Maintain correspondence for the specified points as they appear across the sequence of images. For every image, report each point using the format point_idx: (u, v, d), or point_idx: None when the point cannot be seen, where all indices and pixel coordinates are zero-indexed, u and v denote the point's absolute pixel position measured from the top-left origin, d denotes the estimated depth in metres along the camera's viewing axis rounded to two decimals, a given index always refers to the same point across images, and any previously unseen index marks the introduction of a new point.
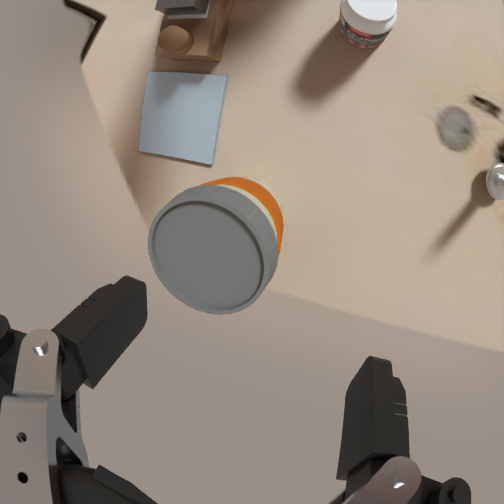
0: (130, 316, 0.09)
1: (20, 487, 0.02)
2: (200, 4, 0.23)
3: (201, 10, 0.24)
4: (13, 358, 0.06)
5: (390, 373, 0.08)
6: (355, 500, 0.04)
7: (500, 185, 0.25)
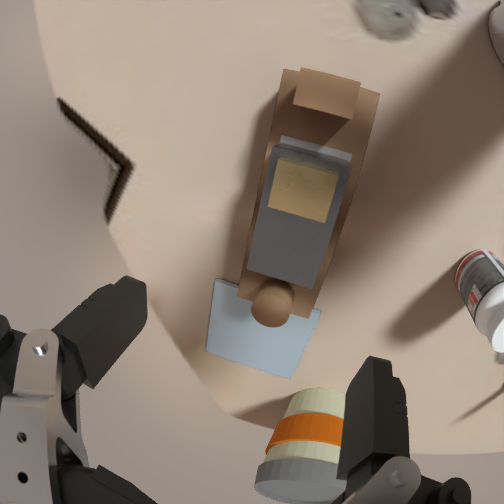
0: (130, 316, 0.09)
1: (20, 487, 0.02)
2: None
3: None
4: (13, 358, 0.06)
5: (390, 373, 0.08)
6: (355, 500, 0.04)
7: None
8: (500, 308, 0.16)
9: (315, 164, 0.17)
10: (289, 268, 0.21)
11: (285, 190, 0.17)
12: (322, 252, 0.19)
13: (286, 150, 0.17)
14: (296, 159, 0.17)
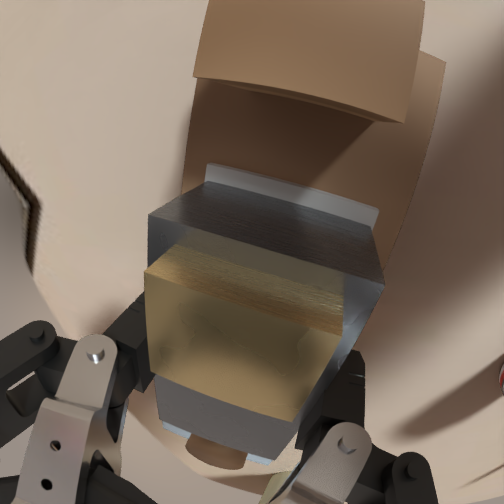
0: None
1: (20, 487, 0.02)
2: None
3: None
4: (54, 372, 0.06)
5: None
6: (305, 473, 0.05)
7: None
8: None
9: (272, 271, 0.06)
10: (230, 435, 0.09)
11: (181, 351, 0.06)
12: (292, 430, 0.08)
13: (185, 226, 0.06)
14: (215, 254, 0.06)
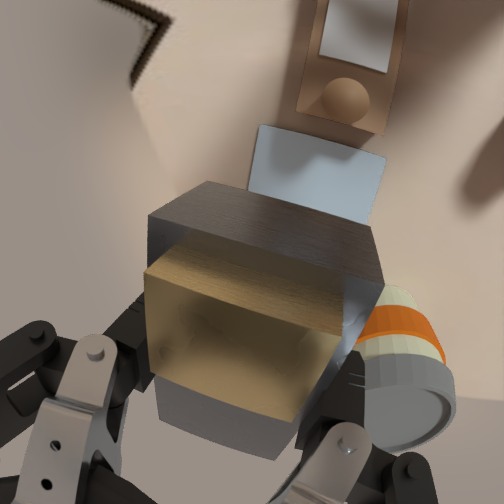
0: None
1: (20, 487, 0.02)
2: None
3: None
4: (55, 372, 0.06)
5: None
6: (305, 473, 0.05)
7: None
8: None
9: (272, 271, 0.06)
10: (230, 436, 0.09)
11: (181, 351, 0.06)
12: (291, 430, 0.08)
13: (185, 227, 0.06)
14: (215, 254, 0.06)
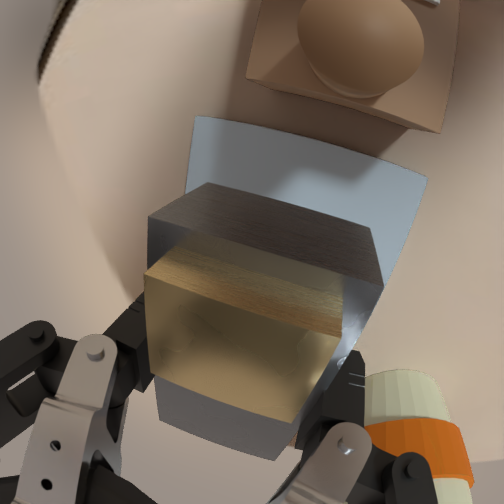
0: None
1: (20, 487, 0.02)
2: None
3: None
4: (54, 372, 0.06)
5: None
6: (305, 473, 0.05)
7: None
8: None
9: (272, 273, 0.06)
10: (230, 436, 0.09)
11: (181, 352, 0.06)
12: (291, 430, 0.08)
13: (185, 228, 0.06)
14: (214, 256, 0.06)
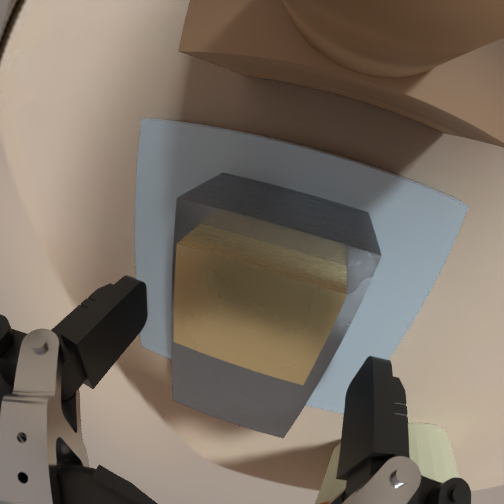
0: (130, 316, 0.09)
1: (20, 487, 0.02)
2: None
3: None
4: (13, 358, 0.06)
5: (390, 373, 0.08)
6: (355, 500, 0.04)
7: None
8: None
9: (286, 245, 0.07)
10: (241, 412, 0.10)
11: (205, 317, 0.07)
12: (301, 402, 0.09)
13: (210, 207, 0.07)
14: (236, 231, 0.07)
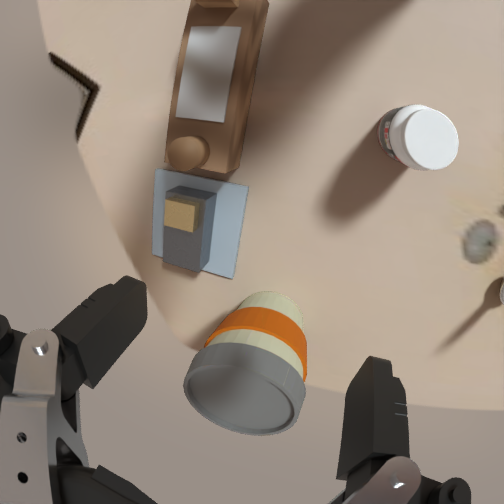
0: (130, 316, 0.09)
1: (20, 487, 0.02)
2: (204, 262, 0.36)
3: None
4: (13, 358, 0.06)
5: (390, 373, 0.08)
6: (355, 500, 0.04)
7: None
8: None
9: (187, 199, 0.31)
10: (184, 259, 0.34)
11: (170, 216, 0.31)
12: (199, 249, 0.33)
13: (172, 193, 0.31)
14: (177, 197, 0.31)
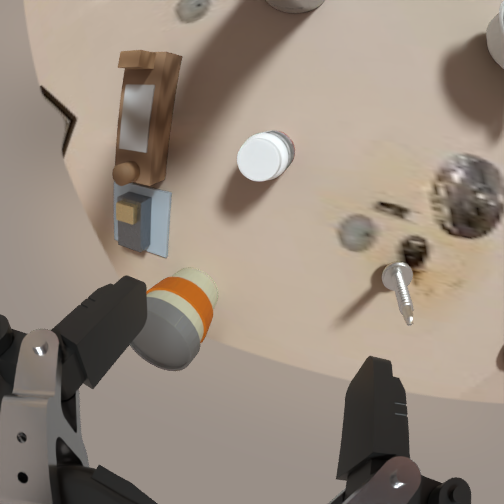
0: (130, 316, 0.09)
1: (20, 487, 0.02)
2: (144, 245, 0.49)
3: (146, 247, 0.50)
4: (13, 358, 0.06)
5: (390, 373, 0.08)
6: (355, 500, 0.04)
7: None
8: None
9: (130, 202, 0.44)
10: (131, 243, 0.48)
11: (119, 213, 0.44)
12: (139, 236, 0.46)
13: (121, 198, 0.44)
14: (124, 201, 0.44)
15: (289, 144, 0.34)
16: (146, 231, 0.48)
